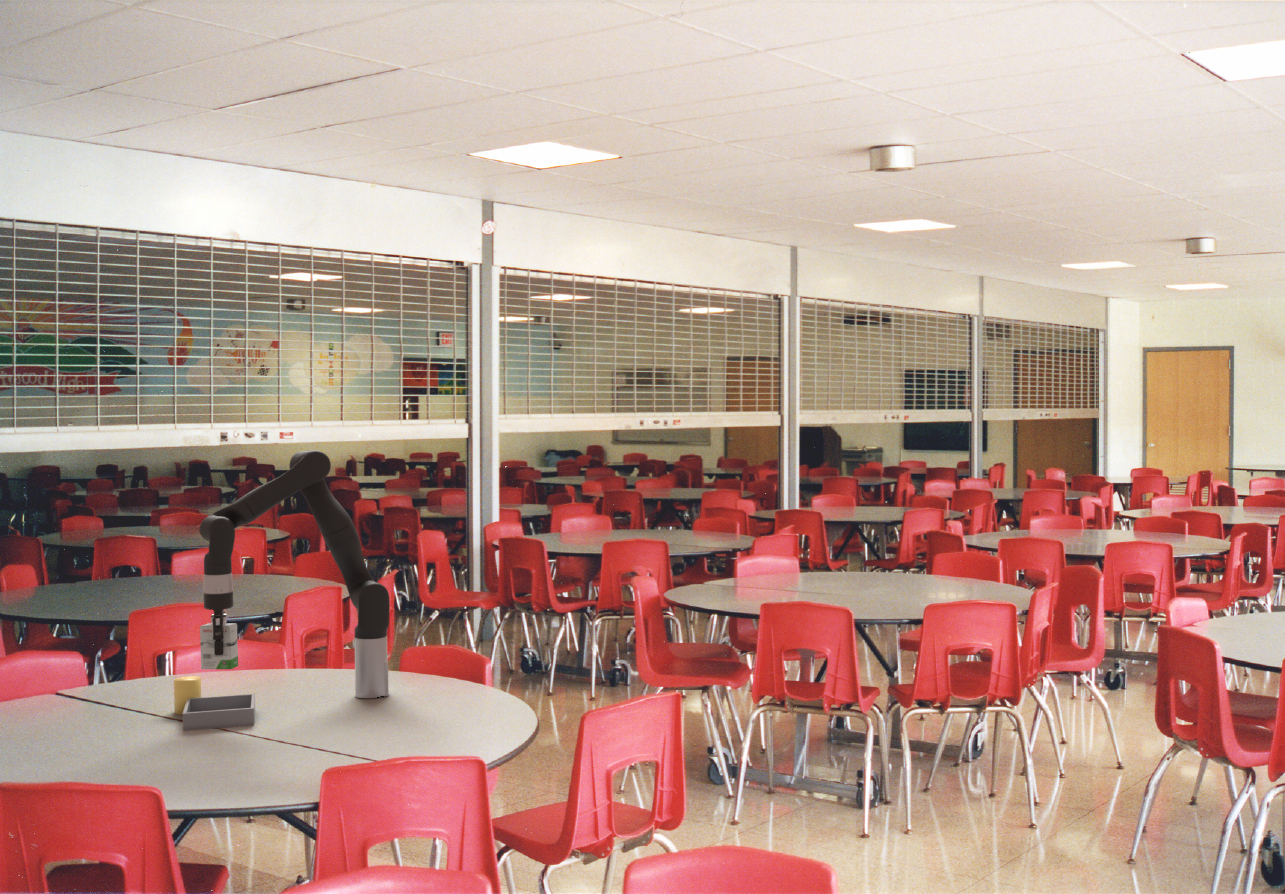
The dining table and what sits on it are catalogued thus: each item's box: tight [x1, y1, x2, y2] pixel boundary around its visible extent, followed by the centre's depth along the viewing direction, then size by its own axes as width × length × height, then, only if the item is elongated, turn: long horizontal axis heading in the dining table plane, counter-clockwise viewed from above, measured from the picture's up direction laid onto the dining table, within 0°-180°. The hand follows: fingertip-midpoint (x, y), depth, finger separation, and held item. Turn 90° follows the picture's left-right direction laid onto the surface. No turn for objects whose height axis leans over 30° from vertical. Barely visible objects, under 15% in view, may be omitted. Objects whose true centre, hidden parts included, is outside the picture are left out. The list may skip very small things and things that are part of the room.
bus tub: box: [182, 693, 256, 732], centre depth 327 cm, size 18×18×4 cm
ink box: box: [199, 622, 239, 670], centre depth 326 cm, size 9×5×12 cm, turn 85°
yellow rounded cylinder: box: [173, 675, 202, 715], centre depth 337 cm, size 7×7×9 cm
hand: (219, 652), depth 326 cm, fingers closed on ink box, 6 cm apart
